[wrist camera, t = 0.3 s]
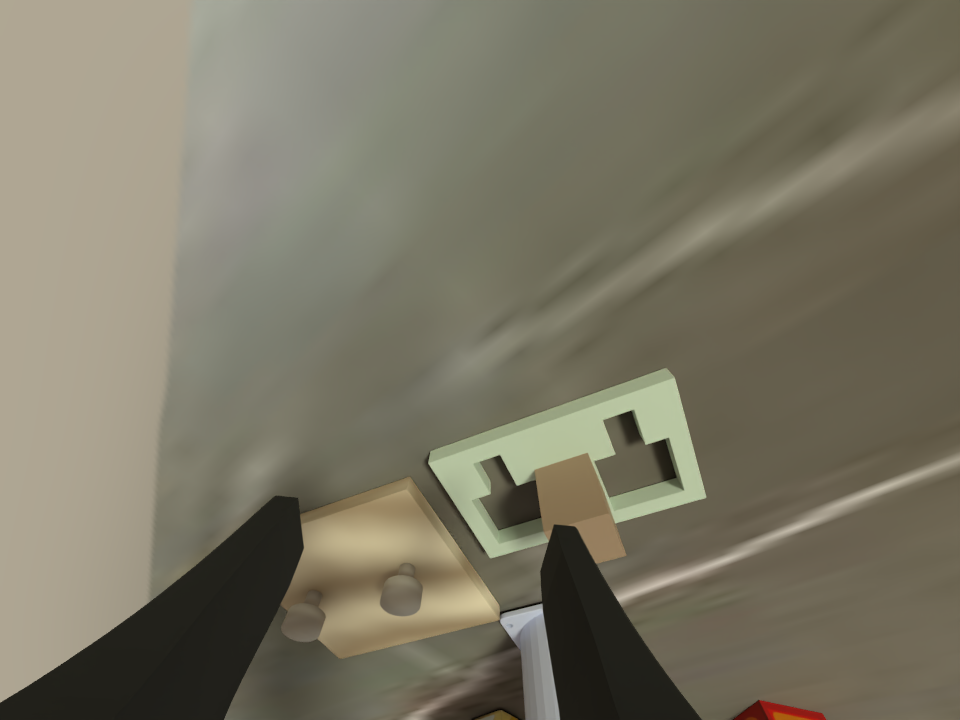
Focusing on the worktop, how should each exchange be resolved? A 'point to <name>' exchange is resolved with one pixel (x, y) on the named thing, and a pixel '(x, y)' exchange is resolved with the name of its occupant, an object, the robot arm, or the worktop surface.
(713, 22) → the worktop surface
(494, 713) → the candy box
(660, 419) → the keyhole panel
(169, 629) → the robot arm
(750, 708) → the baking soda box
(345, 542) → the stud board
